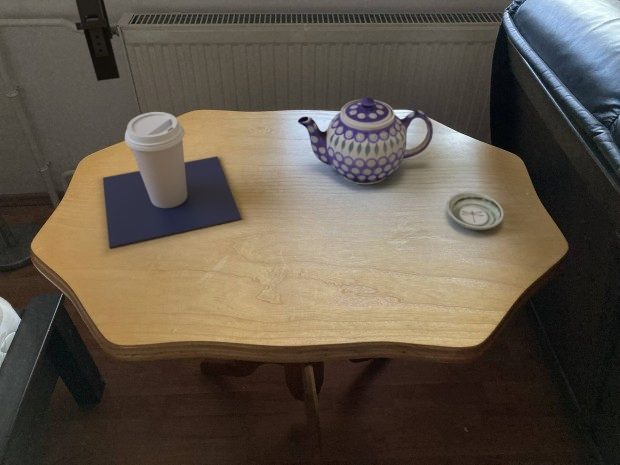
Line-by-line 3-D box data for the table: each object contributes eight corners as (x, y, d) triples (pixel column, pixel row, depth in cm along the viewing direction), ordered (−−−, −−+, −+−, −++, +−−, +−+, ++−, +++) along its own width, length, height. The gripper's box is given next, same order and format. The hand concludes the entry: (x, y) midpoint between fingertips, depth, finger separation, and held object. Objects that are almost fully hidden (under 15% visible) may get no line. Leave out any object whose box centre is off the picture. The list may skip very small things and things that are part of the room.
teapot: (420, 147, 106) (432, 79, 96) (433, 193, 95) (449, 121, 84) (298, 147, 106) (298, 78, 96) (298, 193, 94) (297, 121, 84)
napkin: (109, 248, 83) (109, 246, 83) (103, 179, 97) (102, 177, 97) (241, 219, 89) (241, 218, 89) (217, 157, 103) (217, 156, 102)
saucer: (455, 240, 85) (458, 230, 84) (436, 204, 92) (438, 193, 91) (510, 235, 86) (514, 224, 85) (487, 199, 93) (490, 188, 92)
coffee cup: (158, 221, 88) (139, 147, 78) (132, 195, 93) (111, 122, 83) (206, 198, 92) (193, 125, 82) (178, 174, 98) (163, 103, 88)
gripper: (97, -118, 48) (143, 93, 62) (89, -147, 65) (126, 22, 79) (9, -115, 46) (77, 102, 60) (25, -146, 63) (75, 28, 77)
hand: (105, 57), depth 70 cm, fingers open, 13 cm apart
